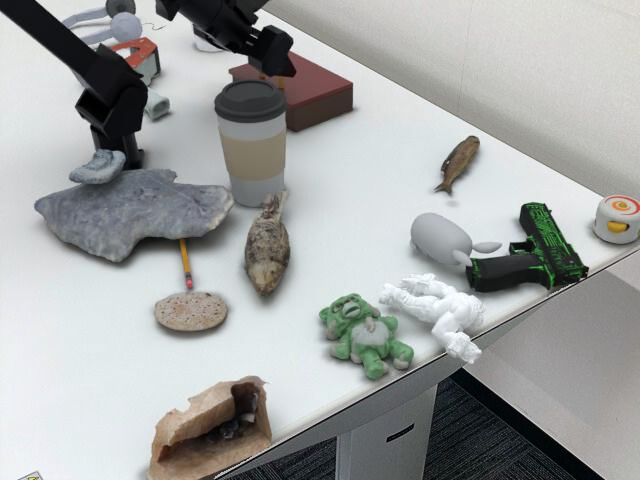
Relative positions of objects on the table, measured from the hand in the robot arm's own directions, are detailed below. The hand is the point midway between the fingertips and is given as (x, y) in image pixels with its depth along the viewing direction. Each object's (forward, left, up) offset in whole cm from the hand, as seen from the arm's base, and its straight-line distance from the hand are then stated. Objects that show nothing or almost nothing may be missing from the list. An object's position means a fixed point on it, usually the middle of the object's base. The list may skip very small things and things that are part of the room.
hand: (276, 64), depth 117 cm
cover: (+1, -2, -3) cm, 4 cm away
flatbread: (-50, +14, -7) cm, 52 cm away
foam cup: (+27, +10, -7) cm, 30 cm away
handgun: (-45, -18, -5) cm, 48 cm away
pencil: (-36, +15, -7) cm, 39 cm away
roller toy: (-44, -41, -5) cm, 60 cm away
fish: (-24, -26, -6) cm, 36 cm away
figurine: (-52, -7, -5) cm, 53 cm away
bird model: (-39, +6, -2) cm, 40 cm away
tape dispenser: (+9, +24, -7) cm, 27 cm away
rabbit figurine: (-39, -14, -5) cm, 41 cm away
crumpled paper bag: (-71, +11, -8) cm, 72 cm away
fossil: (-30, +22, 0) cm, 37 cm away
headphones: (+33, +29, -7) cm, 44 cm away
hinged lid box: (+1, -2, -7) cm, 8 cm away
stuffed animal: (-57, -4, -7) cm, 57 cm away
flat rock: (-35, +9, -4) cm, 36 cm away
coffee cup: (-25, +5, -7) cm, 27 cm away
